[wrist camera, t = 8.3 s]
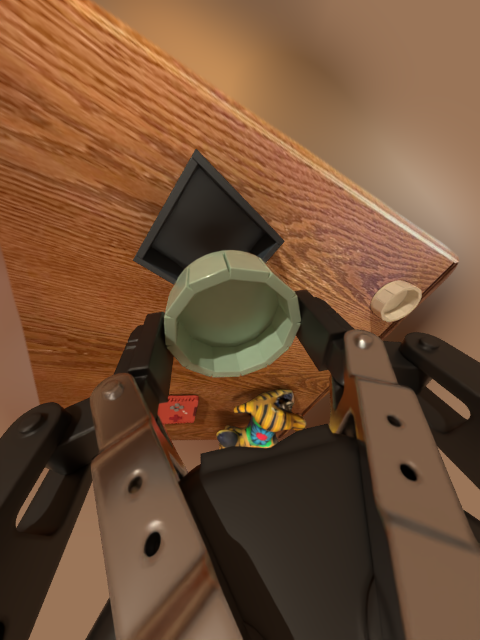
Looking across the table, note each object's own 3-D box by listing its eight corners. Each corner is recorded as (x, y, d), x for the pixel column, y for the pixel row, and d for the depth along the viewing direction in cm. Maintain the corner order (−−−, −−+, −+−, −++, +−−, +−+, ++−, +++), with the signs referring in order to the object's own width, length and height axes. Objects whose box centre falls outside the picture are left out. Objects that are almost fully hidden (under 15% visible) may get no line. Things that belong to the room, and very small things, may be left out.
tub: (196, 154, 17) (195, 148, 14) (270, 231, 22) (285, 241, 19) (143, 246, 21) (132, 260, 17) (218, 294, 26) (221, 312, 22)
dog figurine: (283, 372, 46) (210, 385, 42) (315, 414, 35) (221, 439, 31) (276, 427, 55) (214, 444, 50) (299, 475, 44) (223, 502, 39)
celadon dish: (217, 219, 8) (224, 232, 6) (302, 294, 12) (325, 318, 10) (148, 319, 11) (137, 351, 9) (235, 358, 14) (242, 388, 12)
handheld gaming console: (193, 423, 42) (116, 428, 38) (193, 418, 43) (118, 422, 39) (198, 400, 37) (111, 402, 33) (198, 394, 38) (113, 396, 34)
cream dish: (393, 274, 29) (407, 281, 27) (414, 287, 32) (429, 294, 30) (362, 307, 32) (373, 315, 30) (384, 317, 35) (396, 325, 33)
